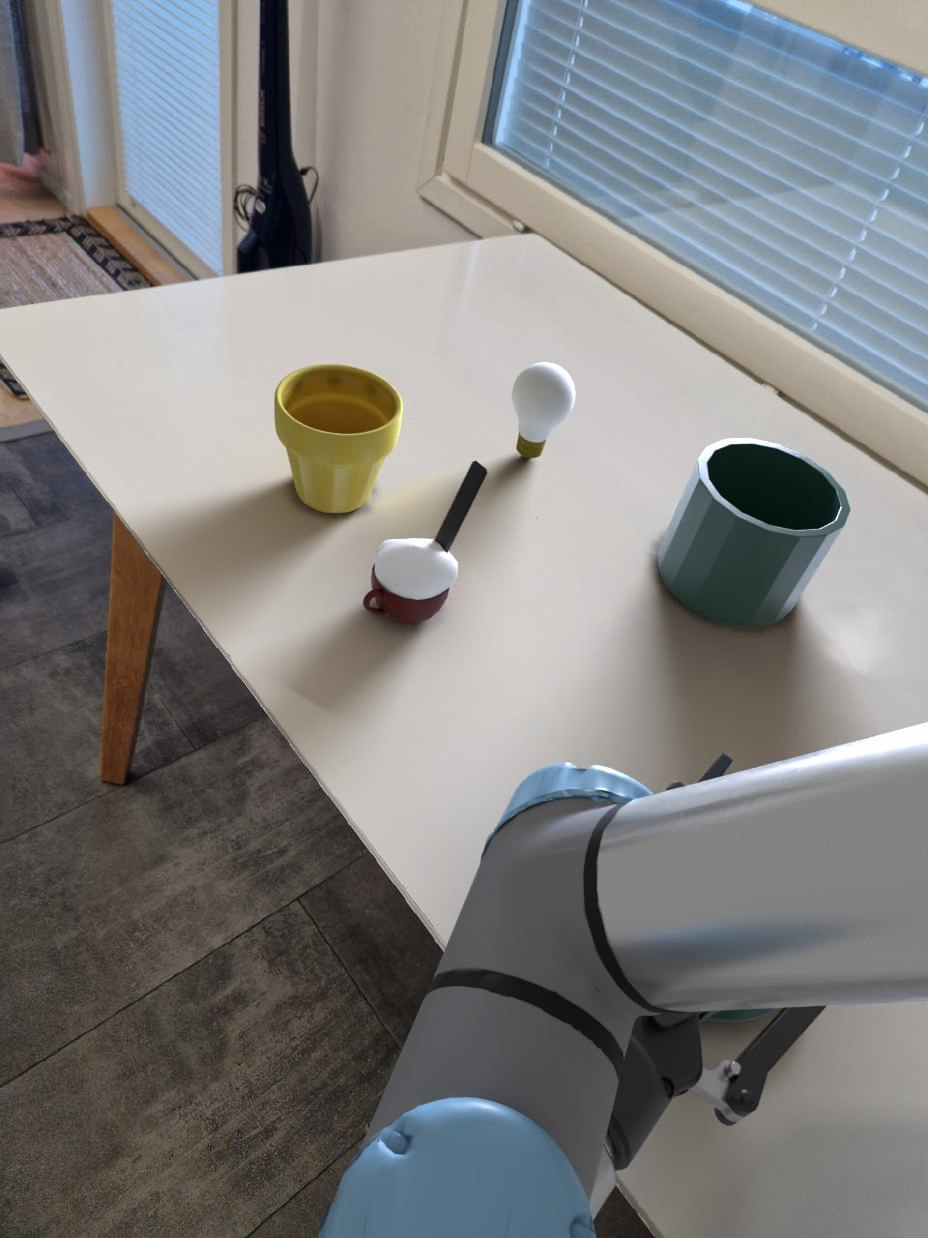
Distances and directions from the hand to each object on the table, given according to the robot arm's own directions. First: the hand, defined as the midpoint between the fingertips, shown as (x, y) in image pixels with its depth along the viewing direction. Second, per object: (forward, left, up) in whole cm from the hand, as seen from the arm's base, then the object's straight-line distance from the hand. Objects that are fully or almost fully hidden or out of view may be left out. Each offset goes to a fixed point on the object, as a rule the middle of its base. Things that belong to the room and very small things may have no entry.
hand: (777, 811), depth 53 cm
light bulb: (+41, -17, -7) cm, 45 cm away
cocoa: (+30, +5, -7) cm, 31 cm away
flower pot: (+45, +3, -7) cm, 46 cm away
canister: (+19, -22, -7) cm, 30 cm away
